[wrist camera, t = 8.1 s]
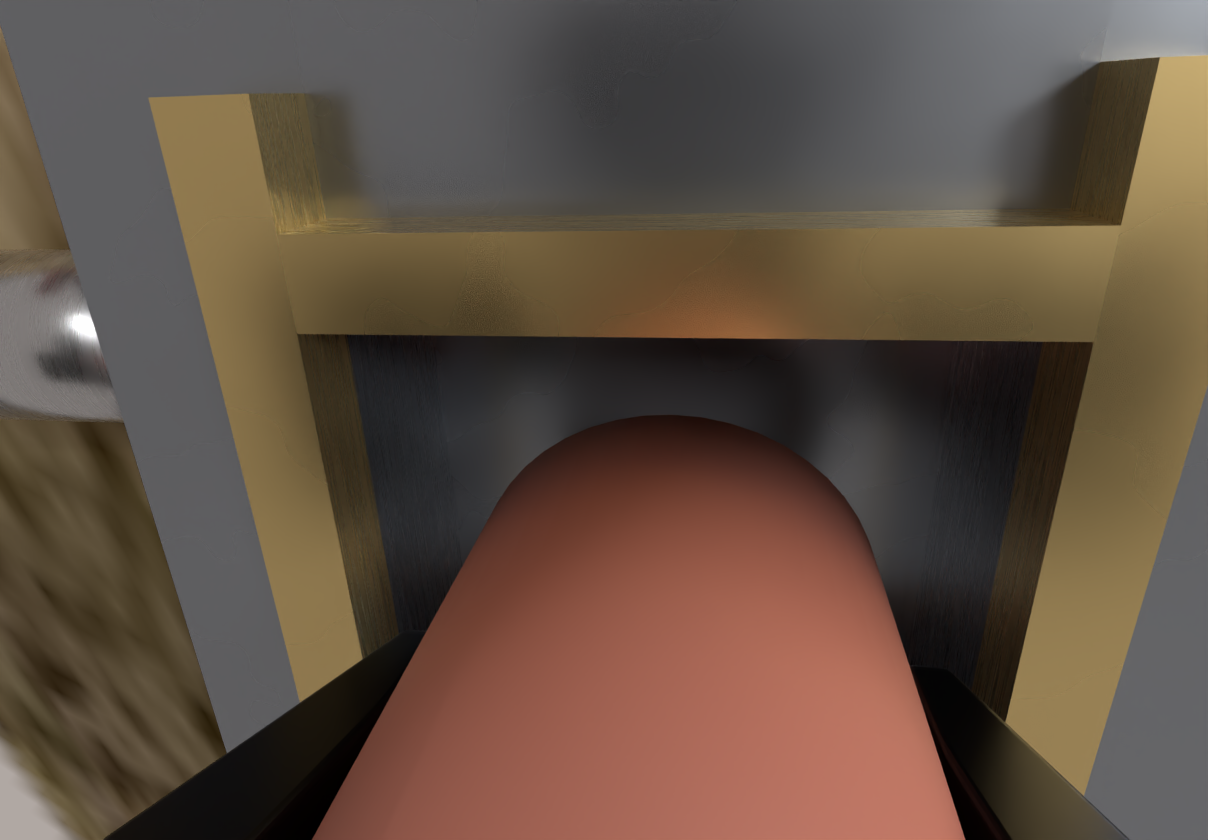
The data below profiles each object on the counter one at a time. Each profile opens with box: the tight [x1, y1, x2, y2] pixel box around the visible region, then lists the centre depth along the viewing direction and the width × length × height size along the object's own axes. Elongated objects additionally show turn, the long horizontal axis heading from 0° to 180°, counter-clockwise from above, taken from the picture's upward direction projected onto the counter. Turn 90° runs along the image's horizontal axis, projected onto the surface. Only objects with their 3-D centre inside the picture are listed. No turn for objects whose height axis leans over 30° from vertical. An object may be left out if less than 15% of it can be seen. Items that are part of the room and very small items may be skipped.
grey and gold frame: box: [0, 0, 1208, 840], centre depth 11 cm, size 17×14×4 cm
